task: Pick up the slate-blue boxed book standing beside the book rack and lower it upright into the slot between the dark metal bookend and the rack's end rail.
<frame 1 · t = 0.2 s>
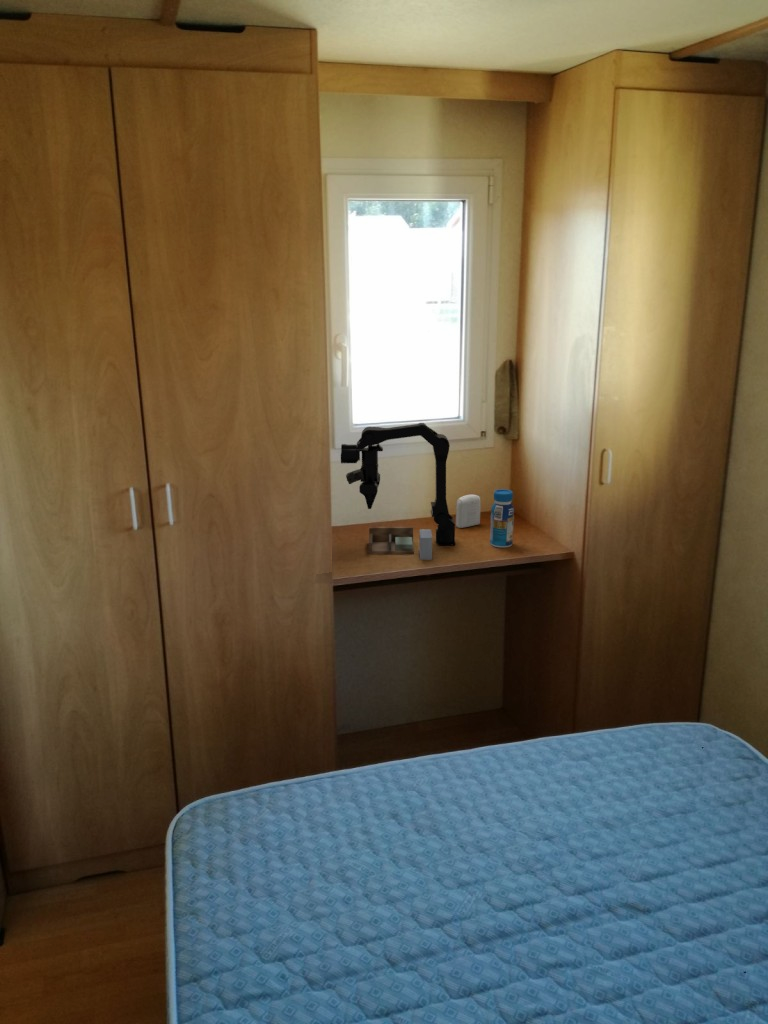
hand: (370, 505, 283), 14 cm above the table, fingers open, 9 cm apart
beverage bottle: (501, 544, 286), on the table
photo printer: (467, 525, 307), on the table
book rack: (391, 548, 282), on the table
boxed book: (425, 555, 275), on the table
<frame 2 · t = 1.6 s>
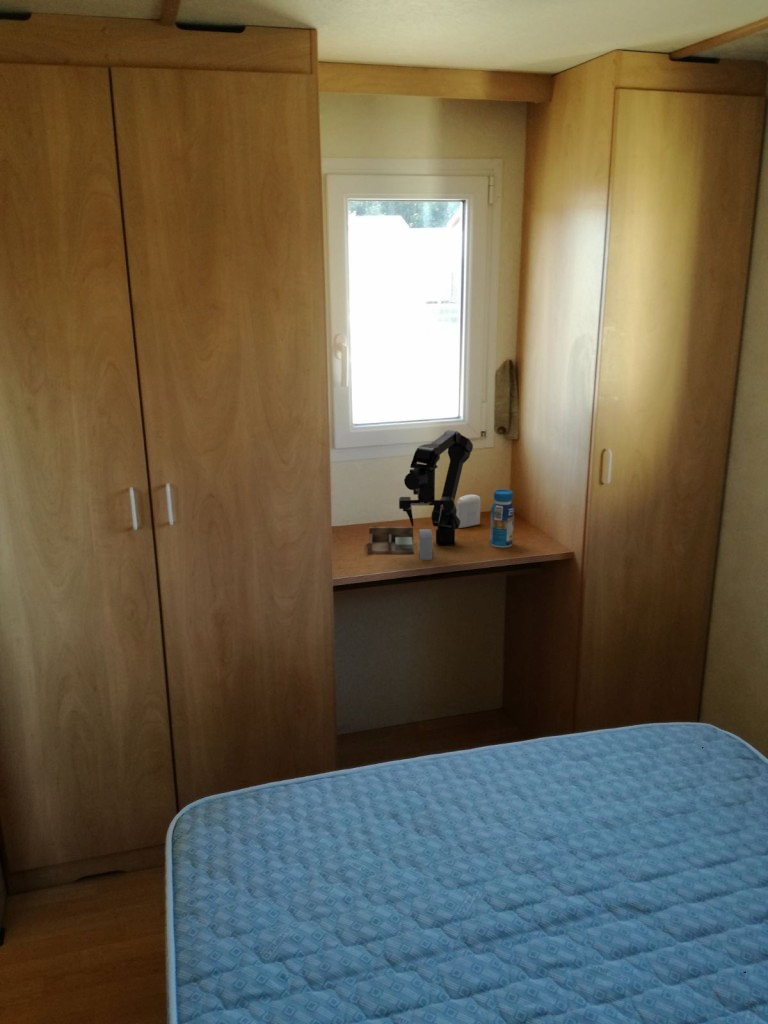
hand: (426, 526, 272), 10 cm above the table, fingers open, 9 cm apart
nothing on the table moved.
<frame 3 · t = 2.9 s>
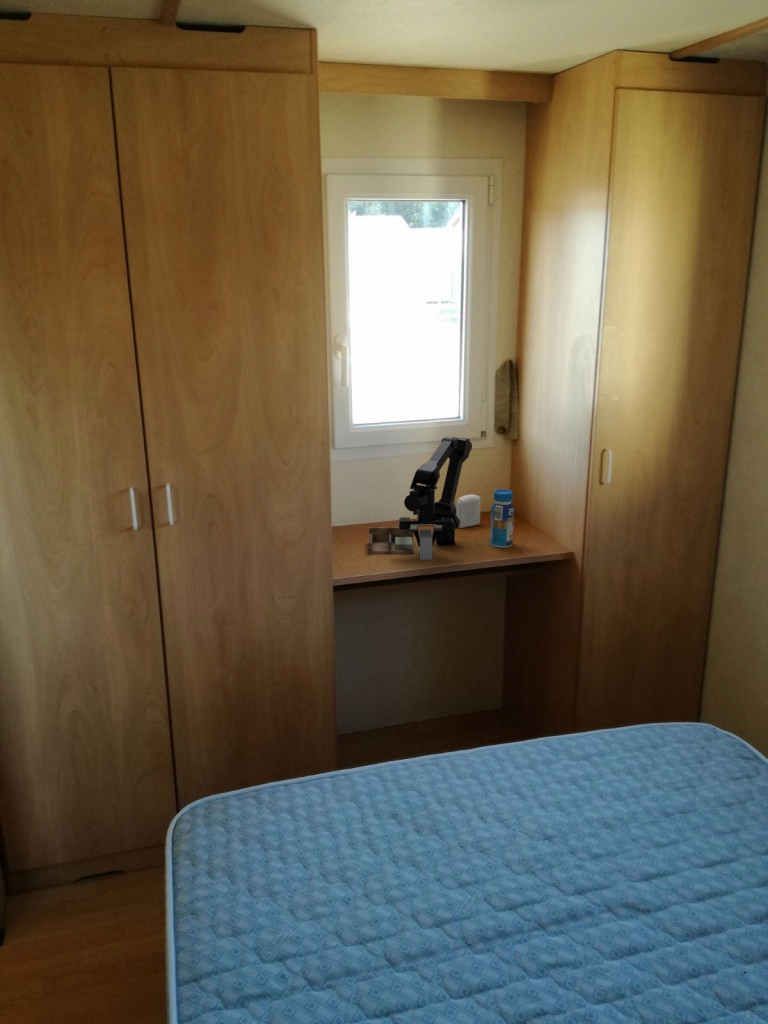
hand: (425, 546, 274), 3 cm above the table, fingers closed on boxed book, 4 cm apart
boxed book: (425, 554, 275), on the table, touching gripper
everything else where it was.
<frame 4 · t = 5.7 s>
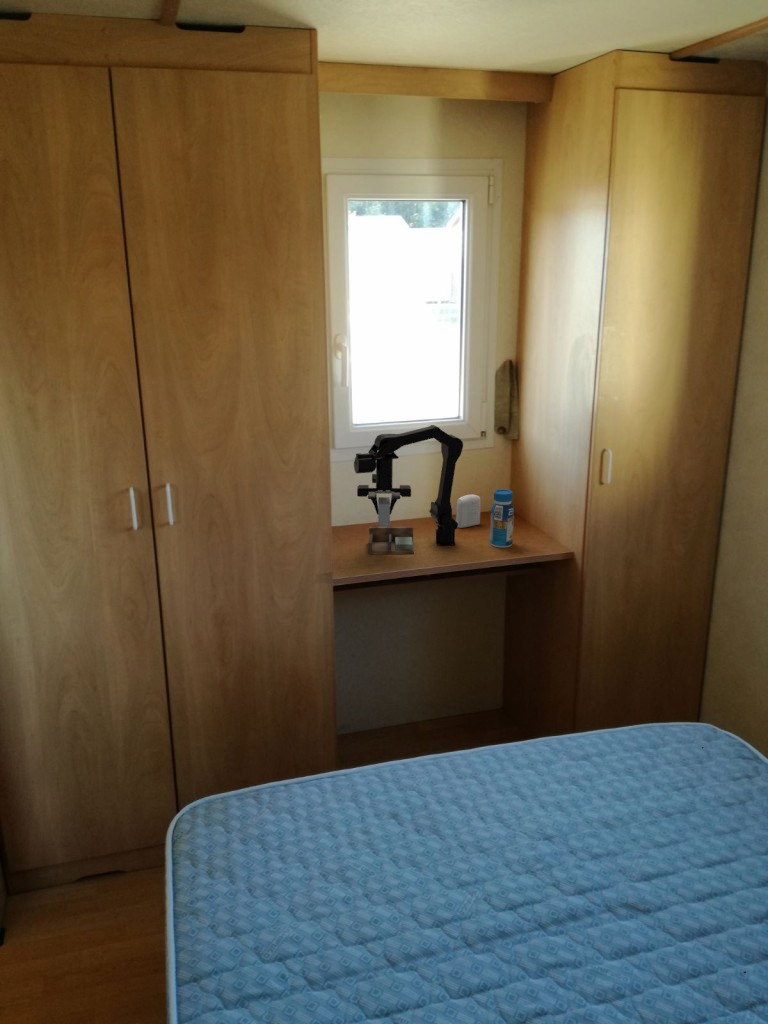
hand: (383, 514, 276), 13 cm above the table, fingers closed on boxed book, 4 cm apart
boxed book: (383, 522, 277), point 10 cm above the table, touching gripper
everything else where it was.
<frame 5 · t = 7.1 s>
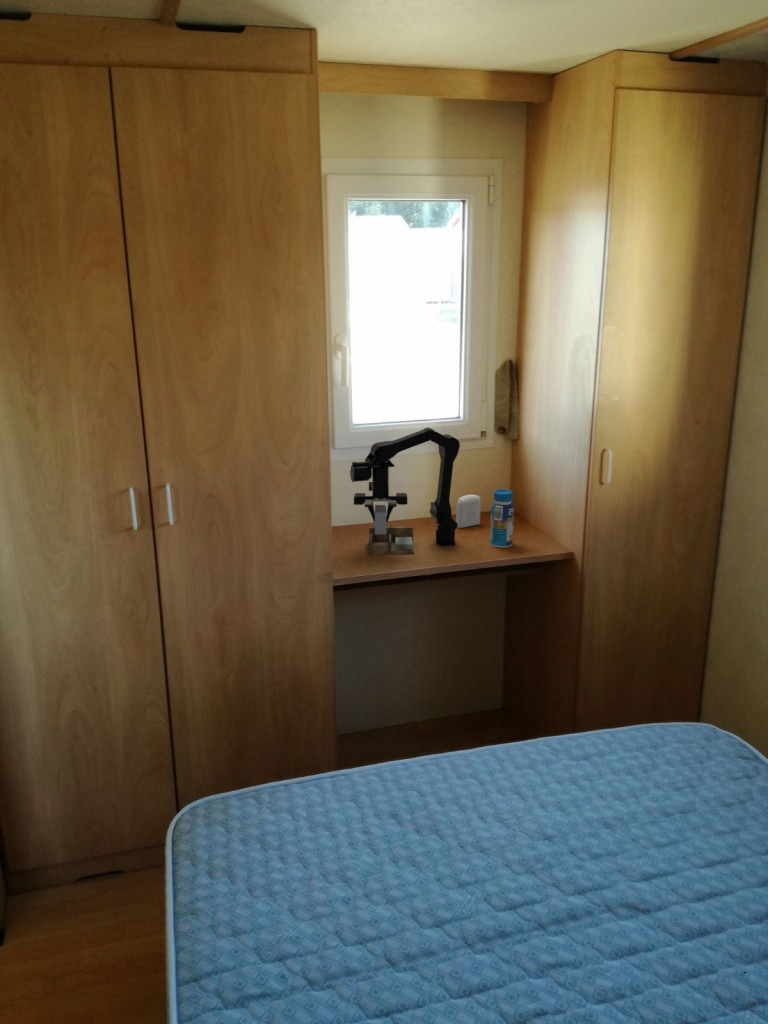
hand: (380, 522, 278), 10 cm above the table, fingers closed on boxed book, 4 cm apart
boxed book: (380, 530, 279), point 7 cm above the table, touching gripper
everything else where it was.
when the fingers open (5 cm above the table, at t = 8.4 s): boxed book drops 1 cm, resting on book rack.
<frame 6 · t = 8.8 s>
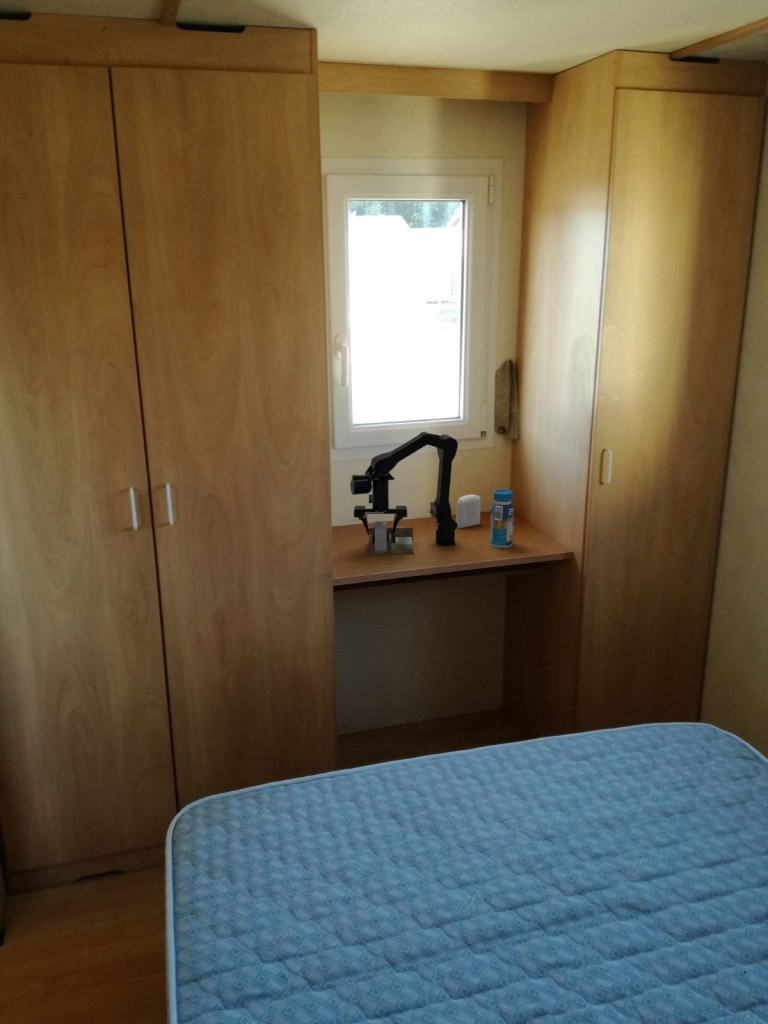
hand: (380, 534, 279), 5 cm above the table, fingers open, 8 cm apart
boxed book: (380, 546, 281), point 1 cm above the table, touching book rack
everything else where it was.
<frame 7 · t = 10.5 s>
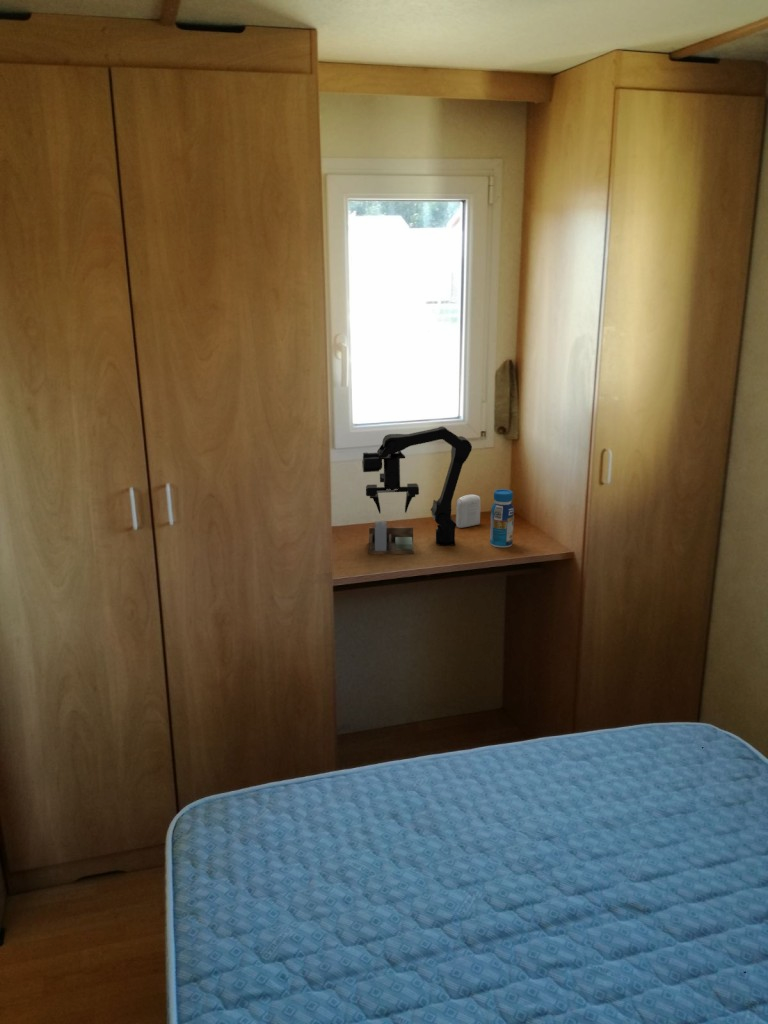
hand: (392, 512, 282), 12 cm above the table, fingers open, 9 cm apart
nothing on the table moved.
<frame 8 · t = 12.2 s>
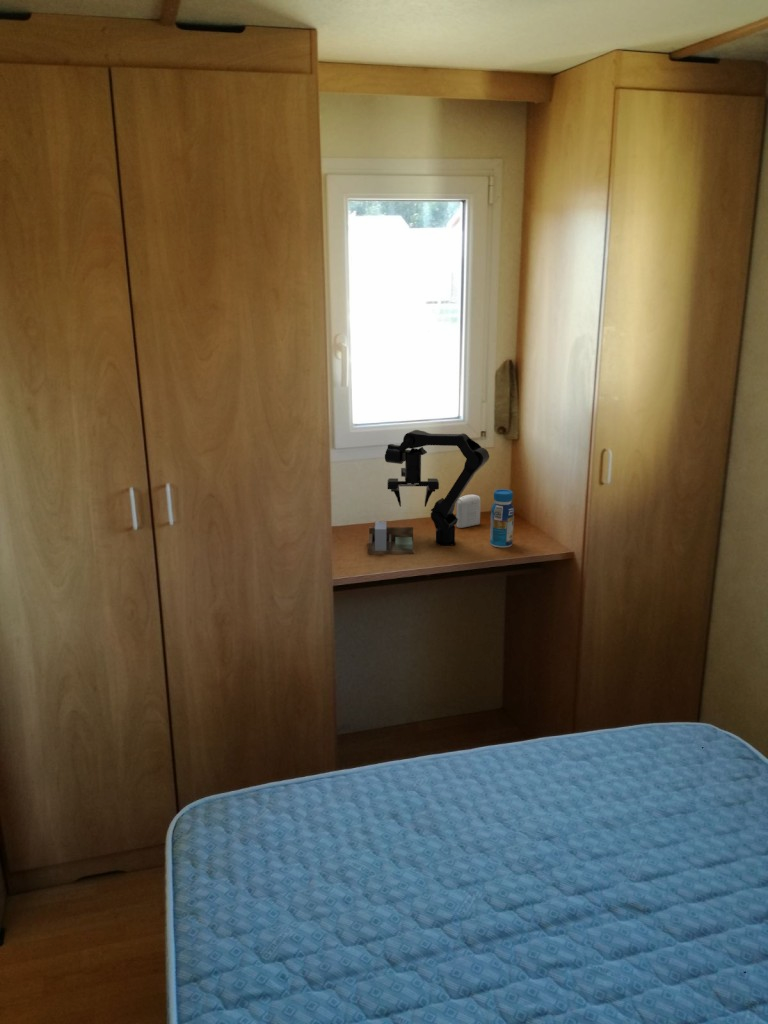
hand: (412, 506, 290), 12 cm above the table, fingers open, 9 cm apart
nothing on the table moved.
at the end: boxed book 0.1 cm from the target spot, point 1.0 cm above the table; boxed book tilted 0°; the gripper is holding nothing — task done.
